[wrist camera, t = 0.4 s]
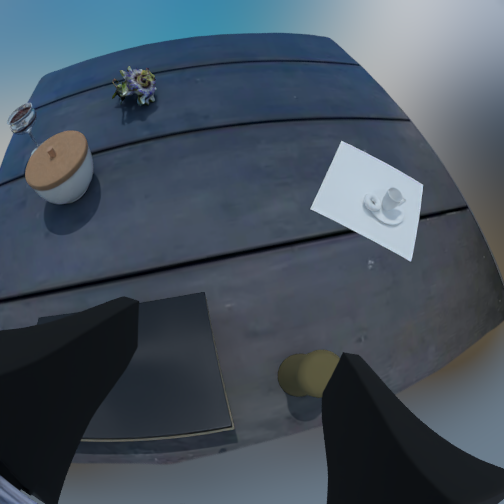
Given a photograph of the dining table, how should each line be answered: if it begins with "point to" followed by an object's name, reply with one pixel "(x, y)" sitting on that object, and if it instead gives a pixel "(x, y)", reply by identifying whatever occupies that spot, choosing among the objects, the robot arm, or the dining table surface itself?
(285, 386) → the olive peanut shape
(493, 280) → the dining table surface
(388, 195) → the teacup and saucer
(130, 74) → the passion flower
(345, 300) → the dining table surface
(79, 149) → the lidded bowl
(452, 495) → the robot arm
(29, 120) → the wineglass
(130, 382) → the panel
